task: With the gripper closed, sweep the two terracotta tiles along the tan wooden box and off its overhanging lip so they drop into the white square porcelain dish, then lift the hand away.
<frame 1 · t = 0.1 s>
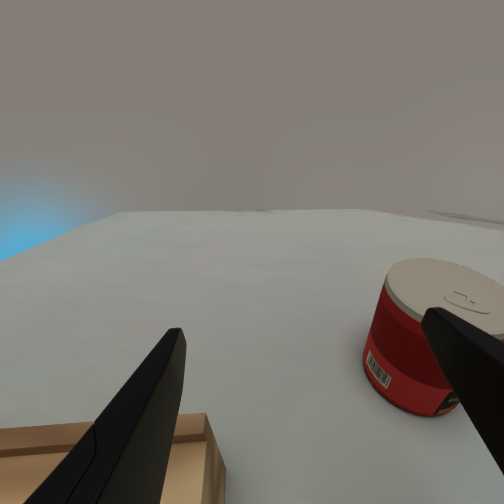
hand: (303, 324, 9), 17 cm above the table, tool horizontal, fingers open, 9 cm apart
canned food: (405, 375, 24), on the table
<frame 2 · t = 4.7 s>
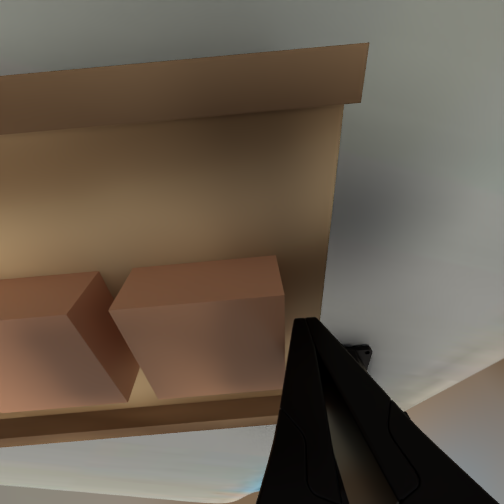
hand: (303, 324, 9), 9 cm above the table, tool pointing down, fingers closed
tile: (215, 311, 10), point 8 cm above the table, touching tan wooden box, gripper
tan wooden box: (169, 226, 17), on the table
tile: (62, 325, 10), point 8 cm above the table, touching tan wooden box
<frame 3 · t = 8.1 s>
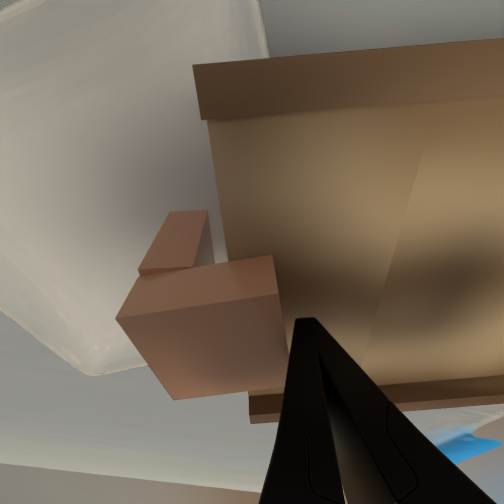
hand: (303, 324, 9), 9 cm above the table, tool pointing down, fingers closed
salad plate: (143, 225, 18), on the table, touching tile
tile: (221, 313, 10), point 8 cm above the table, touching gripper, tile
tan wooden box: (443, 203, 17), on the table
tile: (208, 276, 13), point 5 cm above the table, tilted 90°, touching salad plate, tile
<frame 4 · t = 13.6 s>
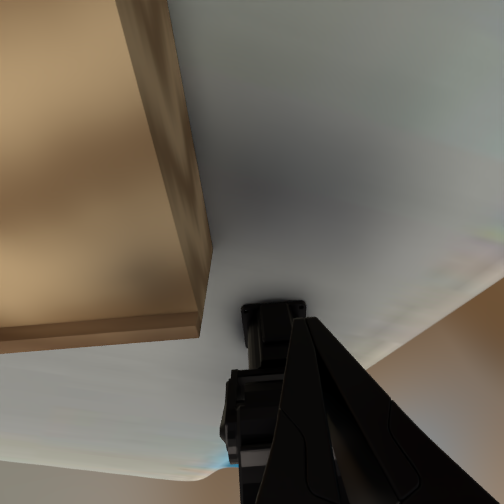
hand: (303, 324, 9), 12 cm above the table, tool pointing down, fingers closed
tan wooden box: (77, 160, 17), on the table
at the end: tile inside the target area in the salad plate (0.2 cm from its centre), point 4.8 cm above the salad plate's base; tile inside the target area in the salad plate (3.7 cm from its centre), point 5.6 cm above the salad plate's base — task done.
